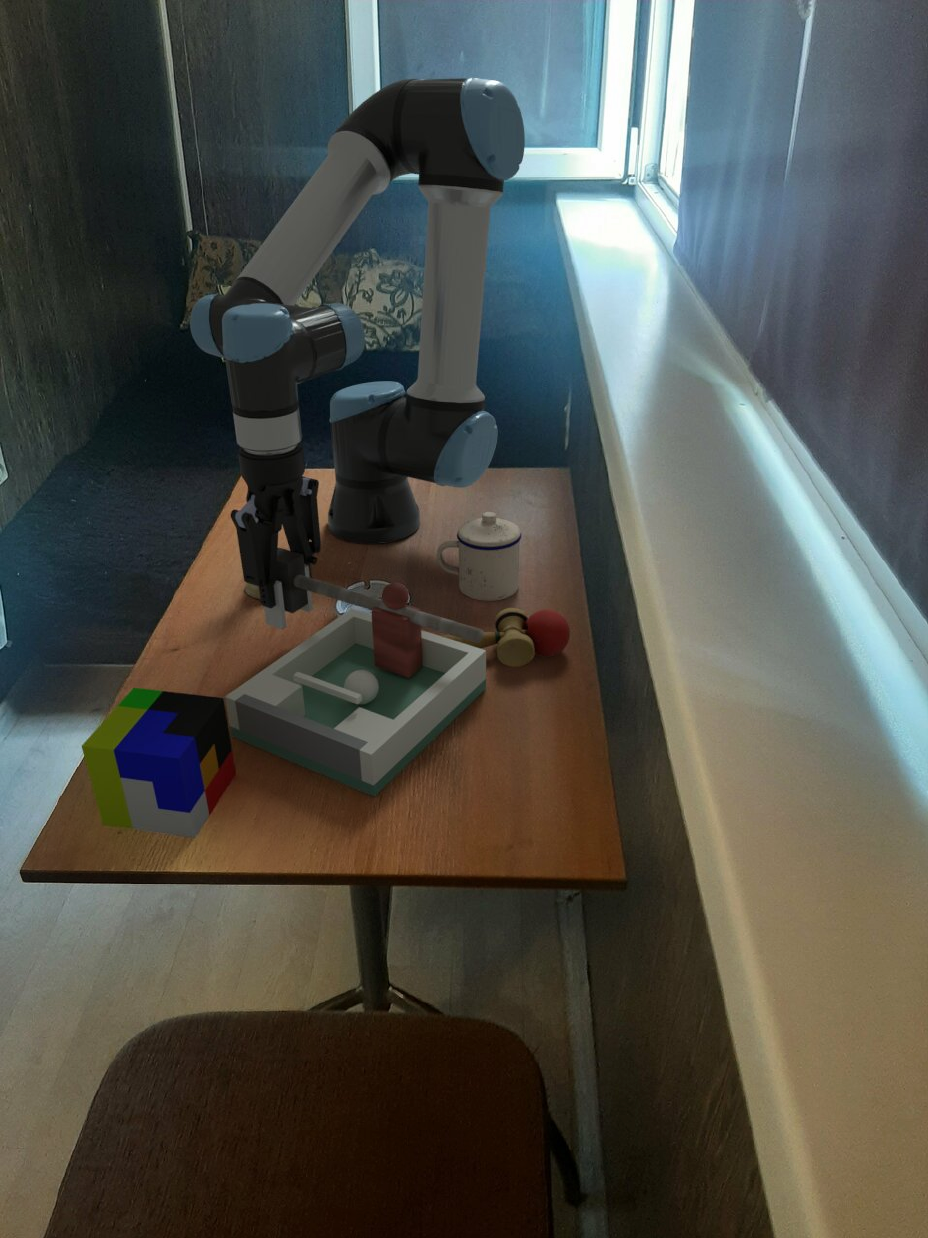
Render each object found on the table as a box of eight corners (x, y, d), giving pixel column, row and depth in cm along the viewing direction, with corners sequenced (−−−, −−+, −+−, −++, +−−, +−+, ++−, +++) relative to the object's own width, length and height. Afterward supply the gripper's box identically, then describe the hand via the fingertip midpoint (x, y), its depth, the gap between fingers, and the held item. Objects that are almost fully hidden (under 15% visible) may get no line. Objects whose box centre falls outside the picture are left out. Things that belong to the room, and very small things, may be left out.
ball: (358, 688, 113) (356, 659, 111) (386, 698, 111) (384, 669, 109) (338, 704, 110) (335, 676, 108) (365, 715, 108) (363, 686, 106)
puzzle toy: (195, 838, 93) (178, 758, 88) (102, 825, 95) (81, 745, 90) (236, 774, 102) (223, 698, 97) (150, 763, 103) (133, 687, 98)
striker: (287, 620, 125) (278, 542, 120) (486, 686, 112) (487, 602, 106) (271, 631, 123) (261, 552, 117) (472, 700, 109) (472, 614, 103)
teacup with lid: (520, 573, 141) (521, 501, 135) (520, 603, 133) (522, 528, 128) (439, 572, 142) (438, 500, 136) (435, 602, 134) (433, 526, 128)
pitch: (354, 644, 124) (350, 595, 120) (485, 688, 115) (486, 637, 111) (231, 736, 107) (222, 683, 104) (374, 796, 98) (370, 740, 94)
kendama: (434, 685, 118) (576, 662, 118) (425, 639, 116) (570, 615, 116) (434, 662, 126) (568, 640, 125) (425, 617, 124) (562, 595, 123)
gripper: (294, 418, 119) (310, 582, 130) (191, 461, 106) (220, 639, 118) (341, 428, 115) (354, 595, 127) (241, 474, 102) (266, 656, 114)
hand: (290, 616), depth 122 cm, fingers open, 4 cm apart
